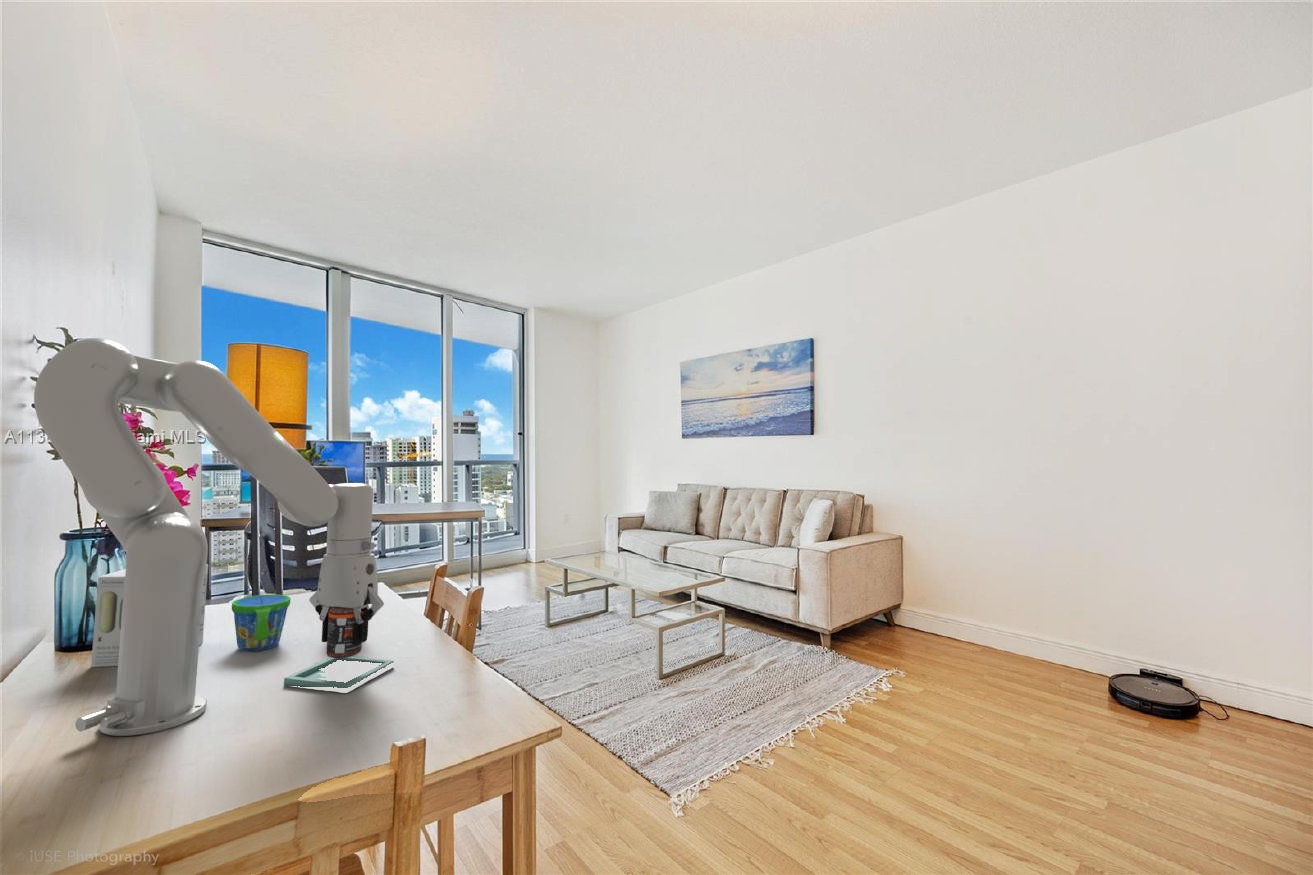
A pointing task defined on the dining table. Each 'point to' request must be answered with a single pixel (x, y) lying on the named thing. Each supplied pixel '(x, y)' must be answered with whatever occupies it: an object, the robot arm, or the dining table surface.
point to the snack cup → (259, 621)
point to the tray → (310, 677)
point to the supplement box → (117, 618)
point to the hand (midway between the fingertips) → (344, 640)
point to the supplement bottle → (341, 633)
